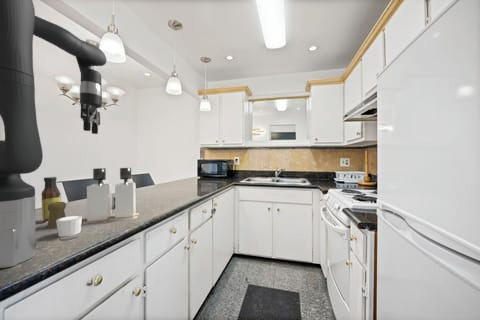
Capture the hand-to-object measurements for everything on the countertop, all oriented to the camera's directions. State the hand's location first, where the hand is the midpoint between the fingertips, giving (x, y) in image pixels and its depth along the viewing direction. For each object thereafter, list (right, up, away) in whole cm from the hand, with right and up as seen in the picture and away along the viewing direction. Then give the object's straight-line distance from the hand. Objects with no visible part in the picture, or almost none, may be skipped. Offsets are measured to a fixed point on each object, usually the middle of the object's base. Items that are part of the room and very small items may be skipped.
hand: (91, 132), depth 81 cm
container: (-1, -40, +24) cm, 46 cm away
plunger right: (+12, -36, +6) cm, 38 cm away
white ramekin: (+3, -40, -14) cm, 42 cm away
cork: (-8, -40, -6) cm, 41 cm away
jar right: (+12, -38, +6) cm, 40 cm away
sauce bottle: (-21, -40, +4) cm, 45 cm away
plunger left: (+2, -36, +2) cm, 36 cm away
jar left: (+2, -38, +2) cm, 38 cm away
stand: (+7, -40, +4) cm, 40 cm away
